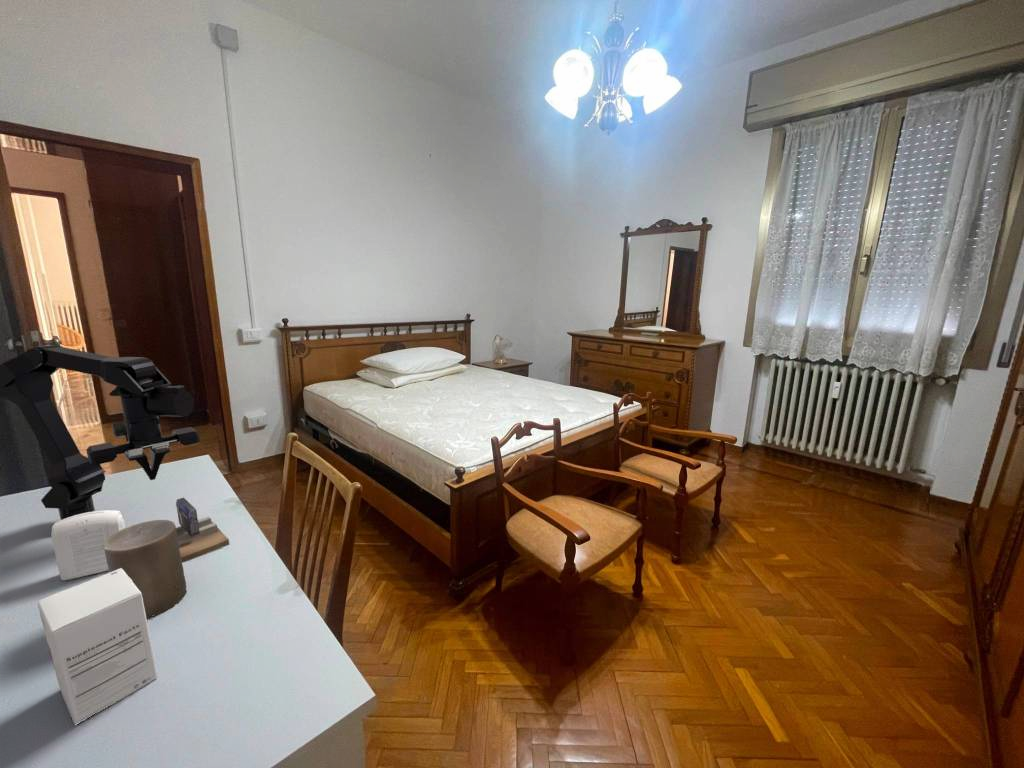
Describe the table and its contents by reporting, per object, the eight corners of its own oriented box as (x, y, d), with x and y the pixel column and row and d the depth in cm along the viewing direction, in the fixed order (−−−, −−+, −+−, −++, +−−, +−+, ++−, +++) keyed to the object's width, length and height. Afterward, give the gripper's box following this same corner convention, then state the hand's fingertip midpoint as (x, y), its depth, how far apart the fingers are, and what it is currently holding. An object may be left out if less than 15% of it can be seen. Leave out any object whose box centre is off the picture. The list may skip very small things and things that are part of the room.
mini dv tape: (179, 523, 95) (175, 499, 94) (187, 520, 97) (183, 497, 95) (191, 537, 91) (187, 512, 89) (199, 534, 92) (196, 509, 90)
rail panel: (144, 543, 92) (142, 532, 92) (208, 521, 102) (207, 511, 101) (161, 570, 84) (158, 558, 83) (229, 544, 93) (227, 533, 92)
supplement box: (58, 690, 59) (34, 599, 56) (139, 647, 66) (122, 565, 63) (73, 729, 54) (48, 632, 51) (159, 678, 61) (142, 590, 58)
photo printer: (133, 555, 88) (123, 502, 86) (129, 566, 85) (118, 511, 82) (64, 572, 83) (51, 515, 80) (57, 584, 79) (43, 526, 77)
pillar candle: (199, 590, 79) (187, 518, 76) (140, 628, 70) (124, 548, 67) (164, 578, 82) (152, 508, 79) (103, 613, 73) (86, 536, 70)
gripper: (182, 400, 105) (190, 458, 109) (76, 416, 91) (90, 482, 94) (196, 409, 98) (204, 470, 102) (84, 427, 84) (99, 498, 88)
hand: (152, 479), depth 97 cm, fingers closed
